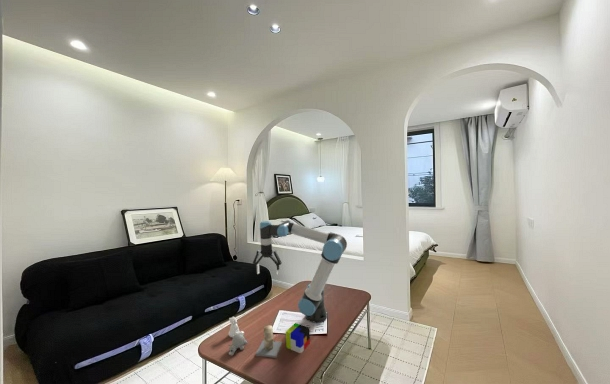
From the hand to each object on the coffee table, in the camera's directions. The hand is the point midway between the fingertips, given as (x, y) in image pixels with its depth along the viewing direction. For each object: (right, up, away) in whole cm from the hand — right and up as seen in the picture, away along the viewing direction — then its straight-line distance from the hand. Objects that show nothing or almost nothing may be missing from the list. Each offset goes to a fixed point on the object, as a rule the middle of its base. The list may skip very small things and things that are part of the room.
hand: (267, 274), depth 180 cm
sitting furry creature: (-19, -35, -14) cm, 42 cm away
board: (+5, -35, -29) cm, 45 cm away
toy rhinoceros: (-14, -36, -29) cm, 48 cm away
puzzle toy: (+22, -34, -26) cm, 48 cm away
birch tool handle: (+5, -34, -29) cm, 45 cm away
